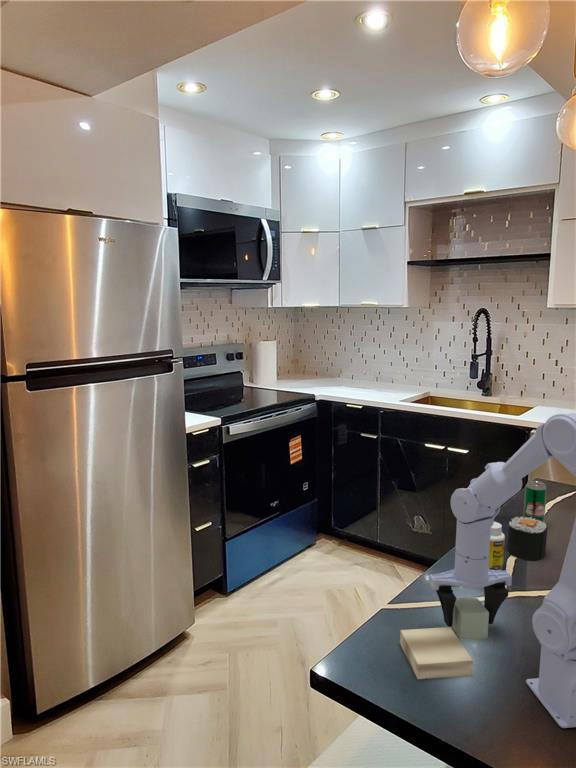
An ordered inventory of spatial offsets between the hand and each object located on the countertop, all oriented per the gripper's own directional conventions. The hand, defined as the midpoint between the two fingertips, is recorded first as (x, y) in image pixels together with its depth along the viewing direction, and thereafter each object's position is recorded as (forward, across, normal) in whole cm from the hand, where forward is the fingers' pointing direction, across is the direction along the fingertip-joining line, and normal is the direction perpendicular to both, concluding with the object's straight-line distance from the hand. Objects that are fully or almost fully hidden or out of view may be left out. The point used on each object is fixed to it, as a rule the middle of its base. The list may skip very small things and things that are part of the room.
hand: (468, 622), depth 98 cm
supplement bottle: (+2, -15, -22) cm, 27 cm away
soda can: (+2, -37, -42) cm, 56 cm away
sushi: (+2, -27, -28) cm, 39 cm away
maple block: (+2, +9, +7) cm, 12 cm away
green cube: (+2, 0, 0) cm, 2 cm away
